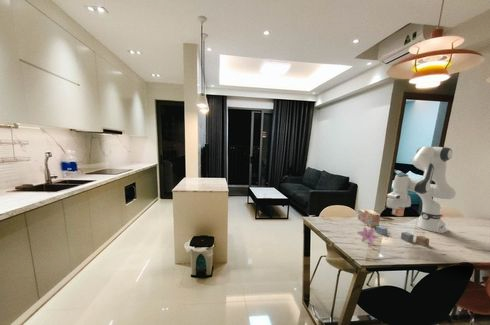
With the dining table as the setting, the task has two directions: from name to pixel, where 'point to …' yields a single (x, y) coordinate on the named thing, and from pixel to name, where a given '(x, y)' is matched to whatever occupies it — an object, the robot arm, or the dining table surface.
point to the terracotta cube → (398, 212)
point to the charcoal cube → (407, 236)
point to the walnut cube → (422, 240)
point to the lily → (368, 235)
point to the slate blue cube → (381, 230)
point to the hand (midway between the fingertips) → (397, 212)
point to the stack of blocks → (369, 218)
